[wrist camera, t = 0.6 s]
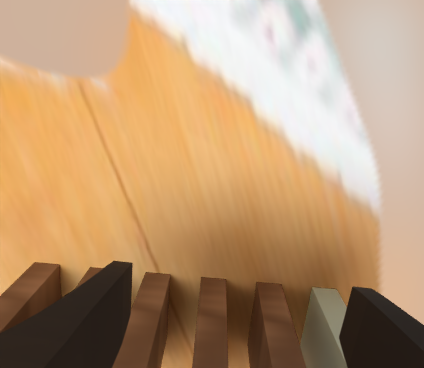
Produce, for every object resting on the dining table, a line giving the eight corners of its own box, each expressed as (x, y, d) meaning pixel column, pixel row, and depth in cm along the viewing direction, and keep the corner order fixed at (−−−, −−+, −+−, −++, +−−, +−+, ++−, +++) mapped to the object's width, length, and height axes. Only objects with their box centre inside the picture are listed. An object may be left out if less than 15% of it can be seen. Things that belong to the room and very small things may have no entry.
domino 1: (40, 326, 23) (-51, 448, 15) (34, 262, 21) (-69, 362, 14) (63, 328, 23) (-16, 451, 15) (59, 264, 21) (-30, 366, 14)
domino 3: (195, 339, 23) (183, 469, 15) (201, 277, 21) (190, 386, 14) (218, 341, 23) (217, 472, 15) (225, 279, 21) (228, 389, 14)
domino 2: (143, 335, 23) (105, 462, 15) (145, 272, 21) (104, 378, 14) (167, 337, 23) (140, 465, 15) (170, 274, 21) (142, 381, 14)
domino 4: (247, 344, 23) (261, 476, 15) (256, 282, 21) (277, 393, 14) (270, 346, 23) (295, 479, 15) (281, 284, 21) (315, 396, 14)
